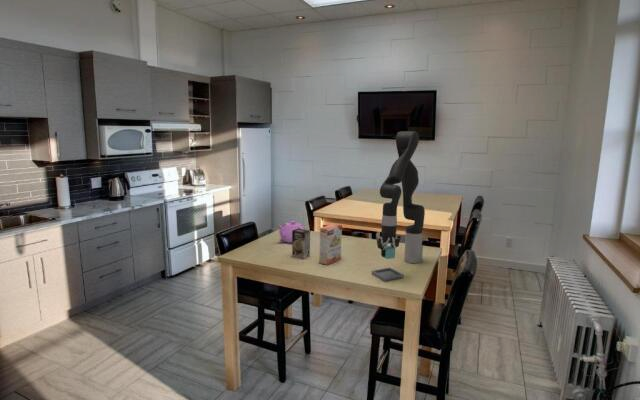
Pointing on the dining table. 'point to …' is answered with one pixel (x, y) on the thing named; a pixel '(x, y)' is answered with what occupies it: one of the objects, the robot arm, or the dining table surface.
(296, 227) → the teapot
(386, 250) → the teal cube
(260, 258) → the dining table surface
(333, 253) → the cracker box
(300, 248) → the coffee box
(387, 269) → the tray
